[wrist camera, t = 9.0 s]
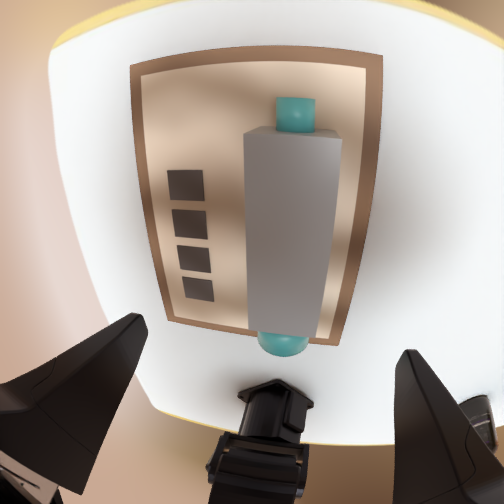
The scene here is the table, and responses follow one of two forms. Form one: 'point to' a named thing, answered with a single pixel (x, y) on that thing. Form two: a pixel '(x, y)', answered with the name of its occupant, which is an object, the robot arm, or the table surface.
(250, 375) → the table surface
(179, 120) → the brown framed board
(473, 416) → the supplement bottle
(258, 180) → the marker
